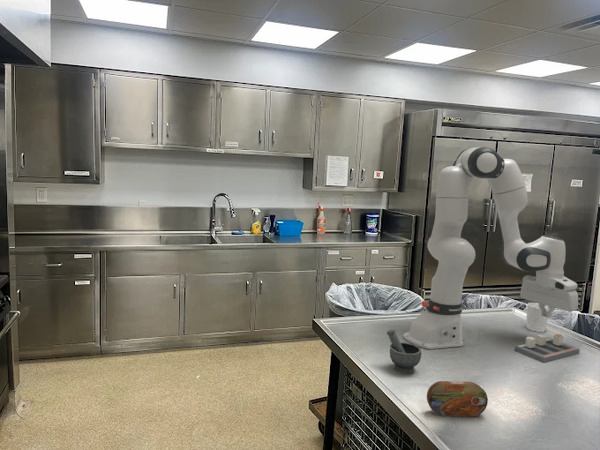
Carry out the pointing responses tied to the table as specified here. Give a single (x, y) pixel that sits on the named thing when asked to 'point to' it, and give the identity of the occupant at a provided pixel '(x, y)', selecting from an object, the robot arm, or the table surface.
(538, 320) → the white cup
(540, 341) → the block
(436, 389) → the tin
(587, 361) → the table surface
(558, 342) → the block
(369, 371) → the table surface
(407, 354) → the mortar and pestle
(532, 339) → the block
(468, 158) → the robot arm
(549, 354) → the panel
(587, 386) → the table surface
